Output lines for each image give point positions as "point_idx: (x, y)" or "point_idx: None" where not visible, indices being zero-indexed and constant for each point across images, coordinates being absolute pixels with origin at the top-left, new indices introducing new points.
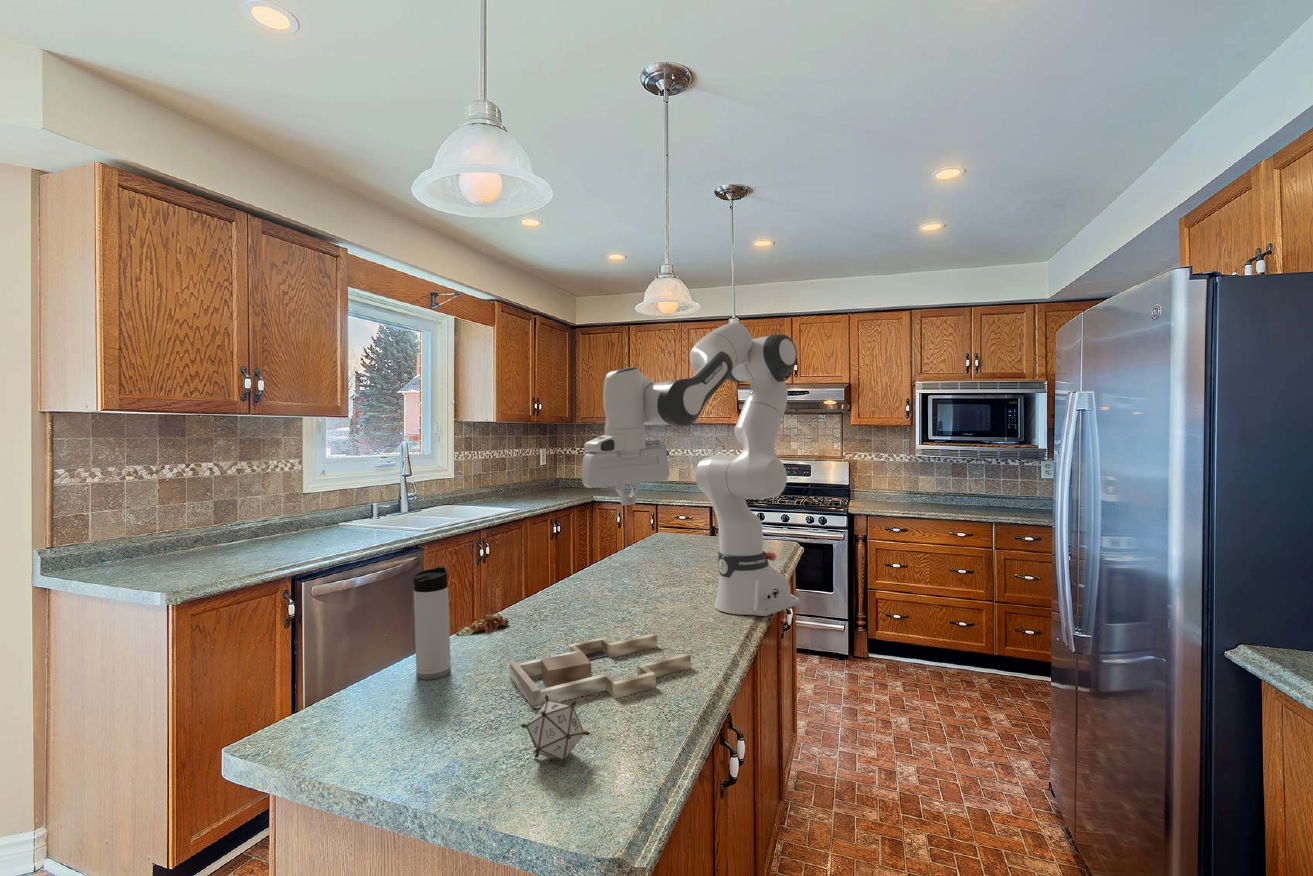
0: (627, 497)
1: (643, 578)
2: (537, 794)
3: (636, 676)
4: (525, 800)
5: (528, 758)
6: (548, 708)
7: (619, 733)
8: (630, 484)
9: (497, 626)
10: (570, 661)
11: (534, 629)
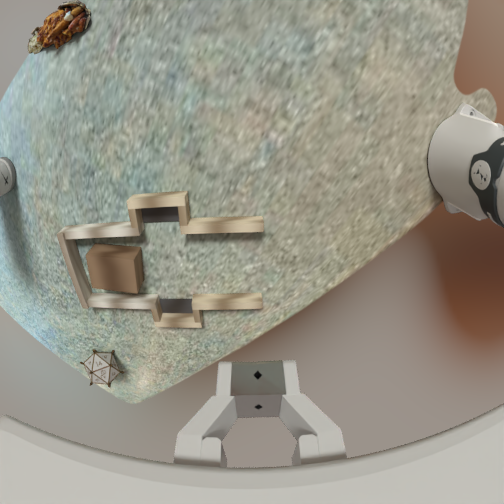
0: (242, 416)
1: None
2: None
3: (181, 323)
4: None
5: (91, 347)
6: (93, 379)
7: (149, 354)
8: (300, 457)
9: (70, 36)
10: (116, 278)
11: (118, 52)
